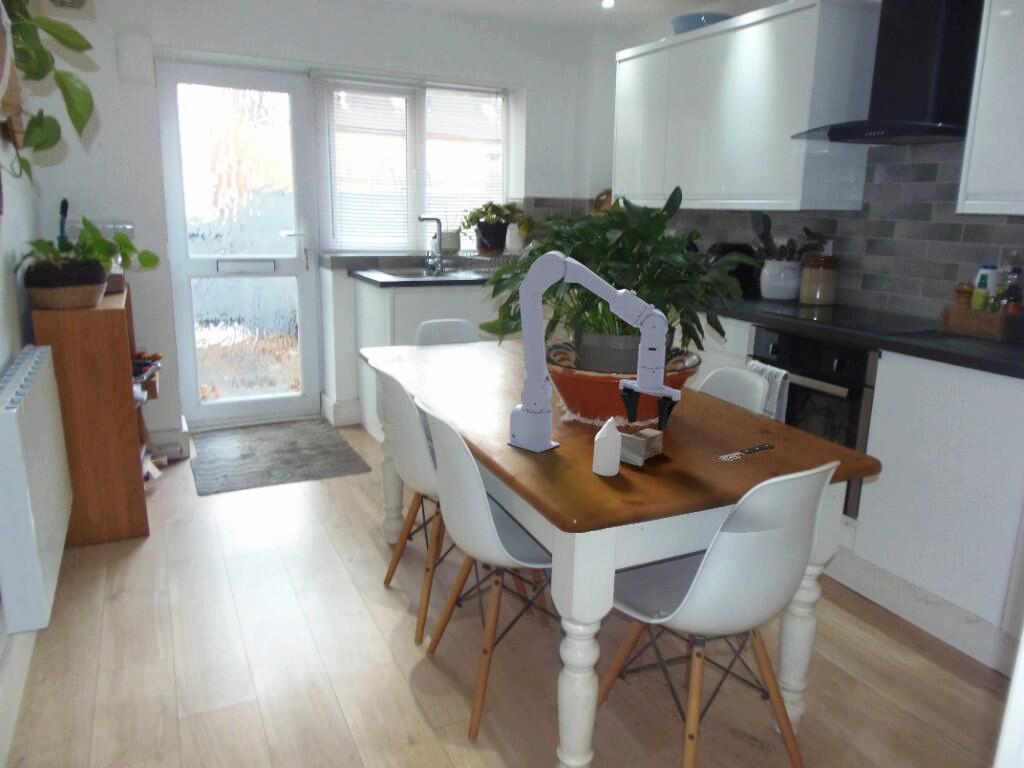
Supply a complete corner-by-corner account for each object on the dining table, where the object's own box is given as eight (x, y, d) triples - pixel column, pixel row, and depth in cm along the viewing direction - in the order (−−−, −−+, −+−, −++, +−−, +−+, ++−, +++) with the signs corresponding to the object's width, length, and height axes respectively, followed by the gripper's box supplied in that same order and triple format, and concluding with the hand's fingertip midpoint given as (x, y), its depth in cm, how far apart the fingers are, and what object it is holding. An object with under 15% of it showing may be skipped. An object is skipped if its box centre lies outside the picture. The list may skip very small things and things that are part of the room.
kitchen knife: (801, 456, 170) (765, 444, 178) (801, 454, 170) (765, 442, 178) (713, 480, 154) (678, 466, 162) (714, 478, 154) (678, 463, 162)
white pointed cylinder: (592, 412, 156) (619, 412, 157) (589, 466, 159) (615, 466, 160) (599, 420, 151) (626, 420, 151) (595, 476, 153) (622, 476, 154)
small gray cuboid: (640, 447, 173) (642, 422, 171) (667, 454, 168) (669, 429, 167) (613, 458, 165) (614, 432, 163) (640, 466, 160) (642, 440, 159)
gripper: (689, 368, 161) (684, 428, 164) (632, 358, 170) (629, 415, 173) (673, 373, 156) (668, 435, 159) (615, 362, 165) (611, 421, 168)
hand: (646, 425), depth 166 cm, fingers open, 7 cm apart
